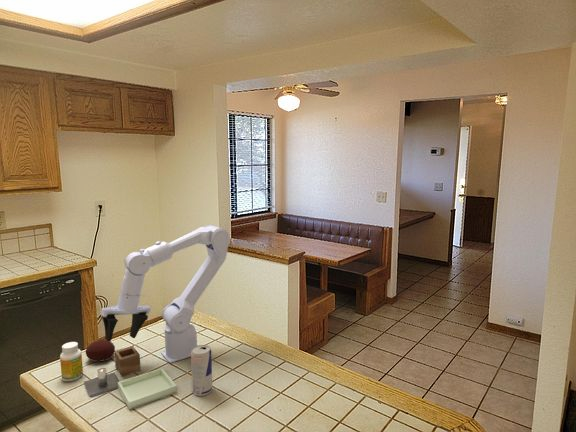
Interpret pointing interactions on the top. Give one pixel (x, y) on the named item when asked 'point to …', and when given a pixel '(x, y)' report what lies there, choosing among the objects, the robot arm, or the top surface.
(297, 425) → the top surface
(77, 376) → the supplement bottle
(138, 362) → the brown wooden box
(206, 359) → the energy drink
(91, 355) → the potato
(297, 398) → the top surface
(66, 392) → the top surface
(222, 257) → the robot arm
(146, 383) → the tray
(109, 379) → the light stand
